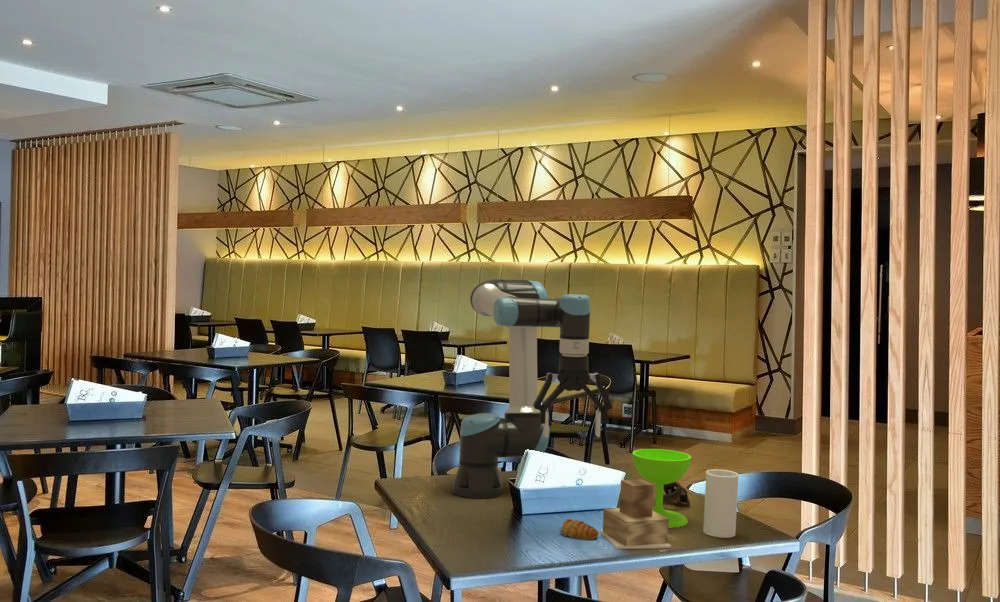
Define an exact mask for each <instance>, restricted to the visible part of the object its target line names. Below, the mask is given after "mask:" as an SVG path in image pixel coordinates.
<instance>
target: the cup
mask: <svg viewBox="0 0 1000 602" xmlns="http://www.w3.org/2000/svg"><path fill="white" fill-rule="evenodd" d="M705 473H706V474H705V490H704V508H703V509H704V510H703V511H704V512H703V529H702V530H703V531H702V532H703V533H704V534H705V535H707V536H710V537H713V538H714V537H715V538H722V539H724V538H726V539H729V538H734V537H735V536H736V533H737V532H736V530H737V527H736V526H737V513H738V511H737V510H738V508H737V507H738V492H739V490H738V487H739V473H737V472H735V471H732V470H727V469H717V468H715V469H707V470H706V472H705Z"/></svg>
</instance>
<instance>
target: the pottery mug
mask: <svg viewBox="0 0 1000 602" xmlns="http://www.w3.org/2000/svg"><path fill="white" fill-rule="evenodd" d="M664 493H665V494H664ZM674 502H676V503H677V502H680V504H681V503H683V504H687V506H689V507H688V508H690V507H691V501H690V498H689V495H688V491H687V489H686V488H685V487H684V486H682V485H681V483H680V482H679V481H678V480H677V481H675V482H673V483H669V484H664V489H663V504H666V505H667V504H669V503H671V504H672V503H674Z"/></svg>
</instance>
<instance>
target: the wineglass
mask: <svg viewBox="0 0 1000 602" xmlns="http://www.w3.org/2000/svg"><path fill="white" fill-rule="evenodd" d="M691 460H692V455H690V454H688V453H686V452H682V451H678V450H672V449H663V448H662V449H661V448H641V449H635V450H633V451H632V462H633V465H634V467H635V469H636V470H637V472H638V473H639V475H640V476H641V477H642V478H644V479H645V481H647V482H649V483H652V484H655V485H656V490H655V491H656V492H655V494H656V495H655V505H654V507H653V511H654V512H656V513H658V514H660V515H662V516H664V517H666V518H668V519H669V527H668V529H674V528H673V527H677V528H681V527H680V526H683V527H685V526H687V525H688V524H687V523H689V521H688V518H687V517H686V516H684V515H683V514H682V513H680V512H677V511H673V510H668V509H664V505H663V504H664V503H663V494H664V484H669V483H673V482H675V481H677V482H678V481H679V480H680V479H681V478H682V477H684V475H685V474H686V473H687V472H688V470H689V468H690V465H691ZM686 524H687V525H686ZM684 525H685V526H684Z"/></svg>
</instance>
